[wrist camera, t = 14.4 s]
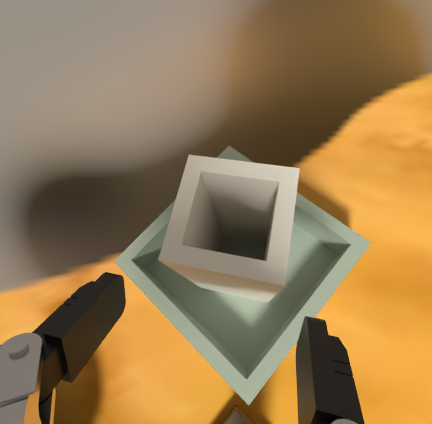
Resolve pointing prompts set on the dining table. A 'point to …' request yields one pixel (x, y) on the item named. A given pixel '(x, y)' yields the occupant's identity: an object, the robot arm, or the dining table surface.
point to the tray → (245, 307)
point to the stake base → (237, 417)
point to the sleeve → (232, 225)
